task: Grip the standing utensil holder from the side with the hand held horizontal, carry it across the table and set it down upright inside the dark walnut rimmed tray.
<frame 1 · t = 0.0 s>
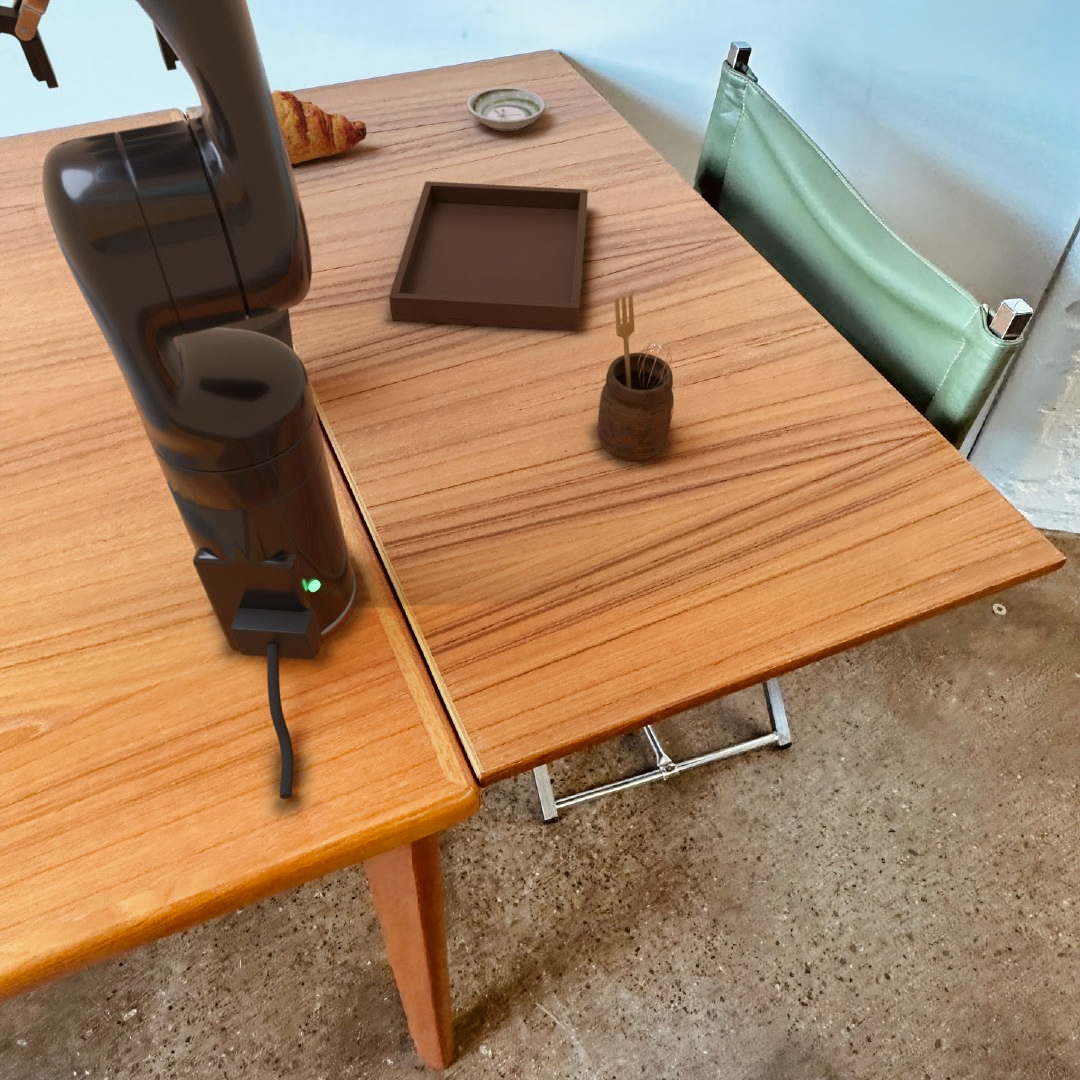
hand: (112, 73, 69), 22 cm above the table, tool pointing down, fingers open, 8 cm apart
croissant: (279, 152, 108), on the table
beverage cup: (272, 401, 79), on the table
tray: (496, 262, 93), on the table
saucer: (506, 124, 113), on the table
utensil holder: (631, 439, 76), on the table
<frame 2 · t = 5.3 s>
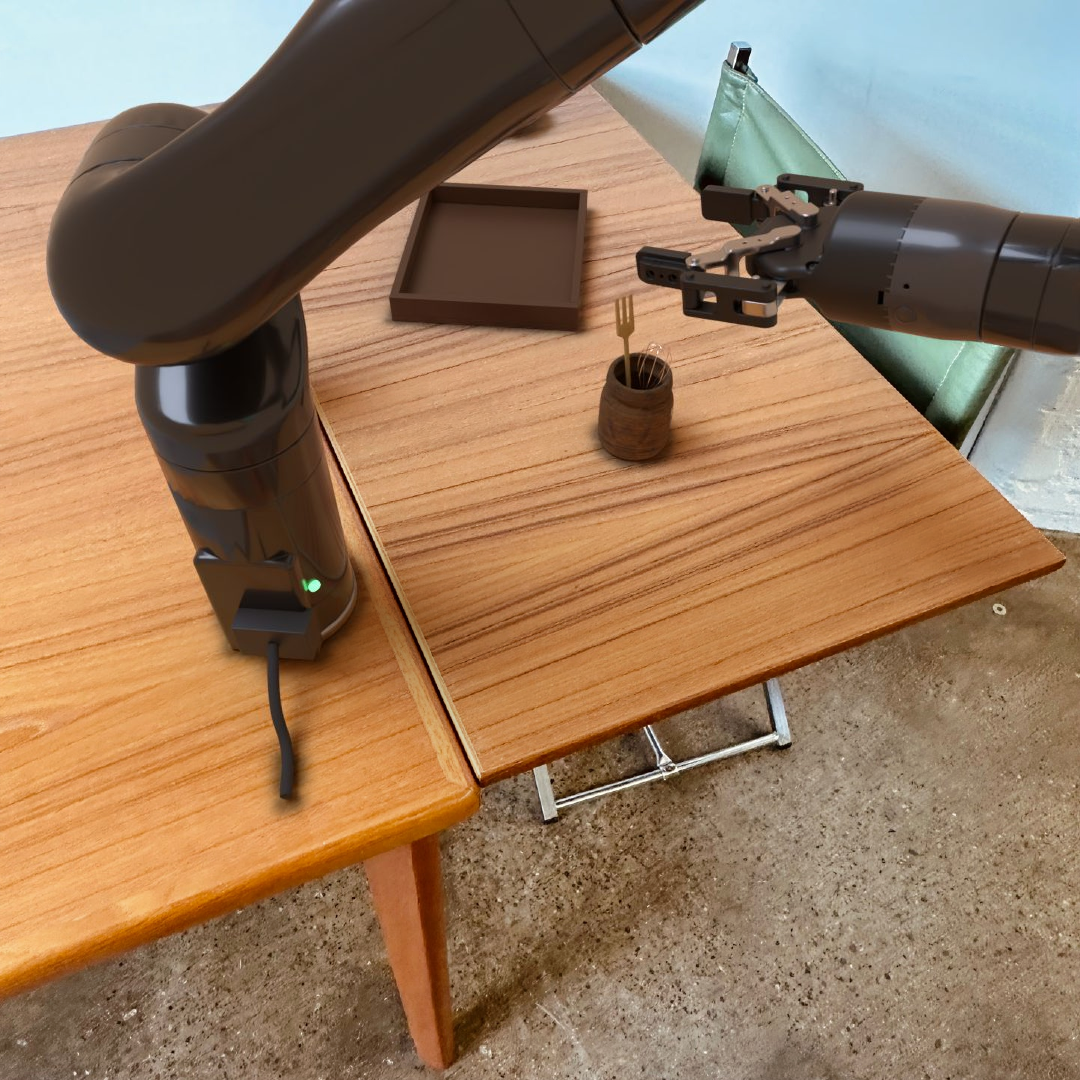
hand: (672, 231, 61), 19 cm above the table, tool horizontal, fingers open, 8 cm apart
nothing on the table moved.
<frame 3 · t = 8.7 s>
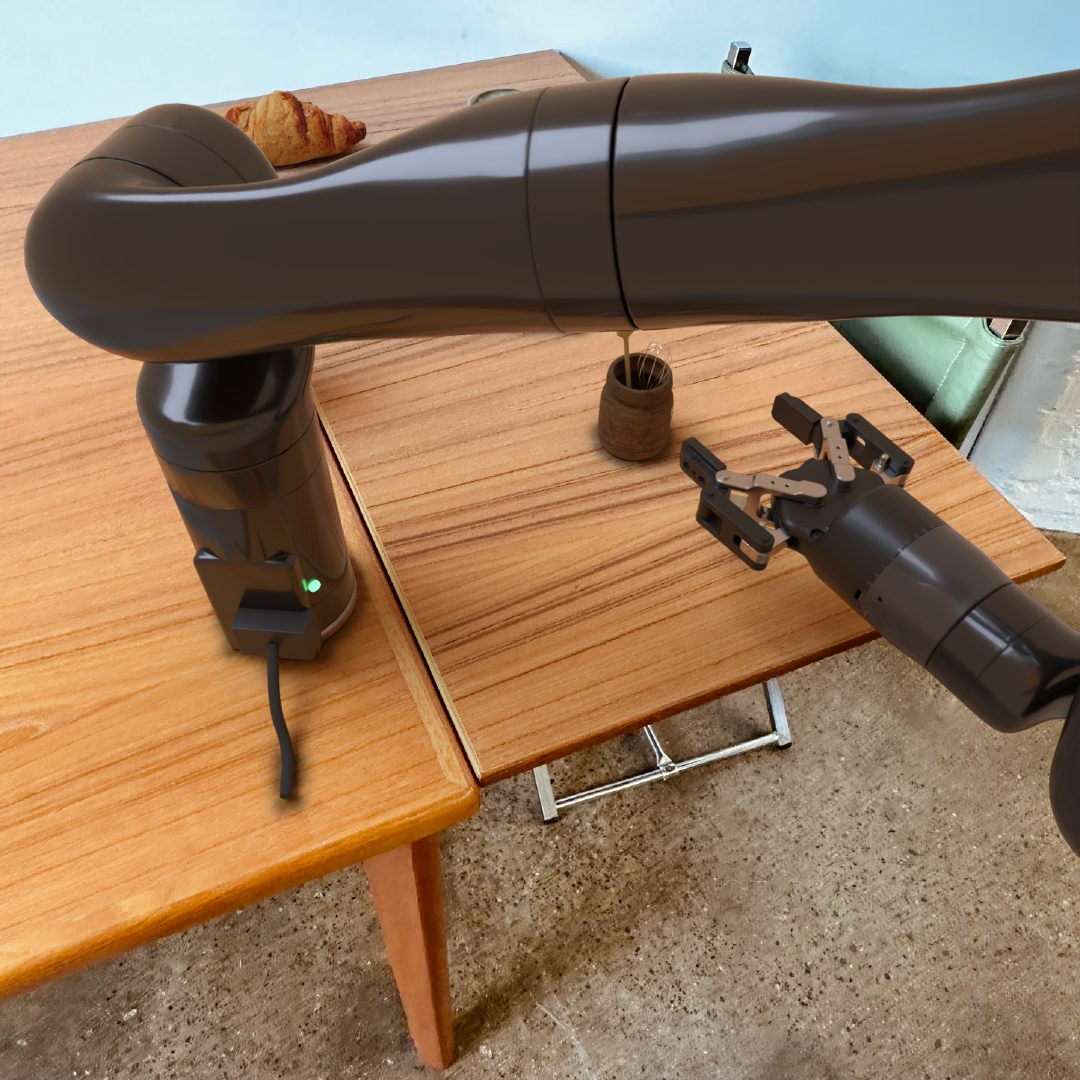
hand: (731, 424, 64), 9 cm above the table, tool horizontal, fingers open, 8 cm apart
nothing on the table moved.
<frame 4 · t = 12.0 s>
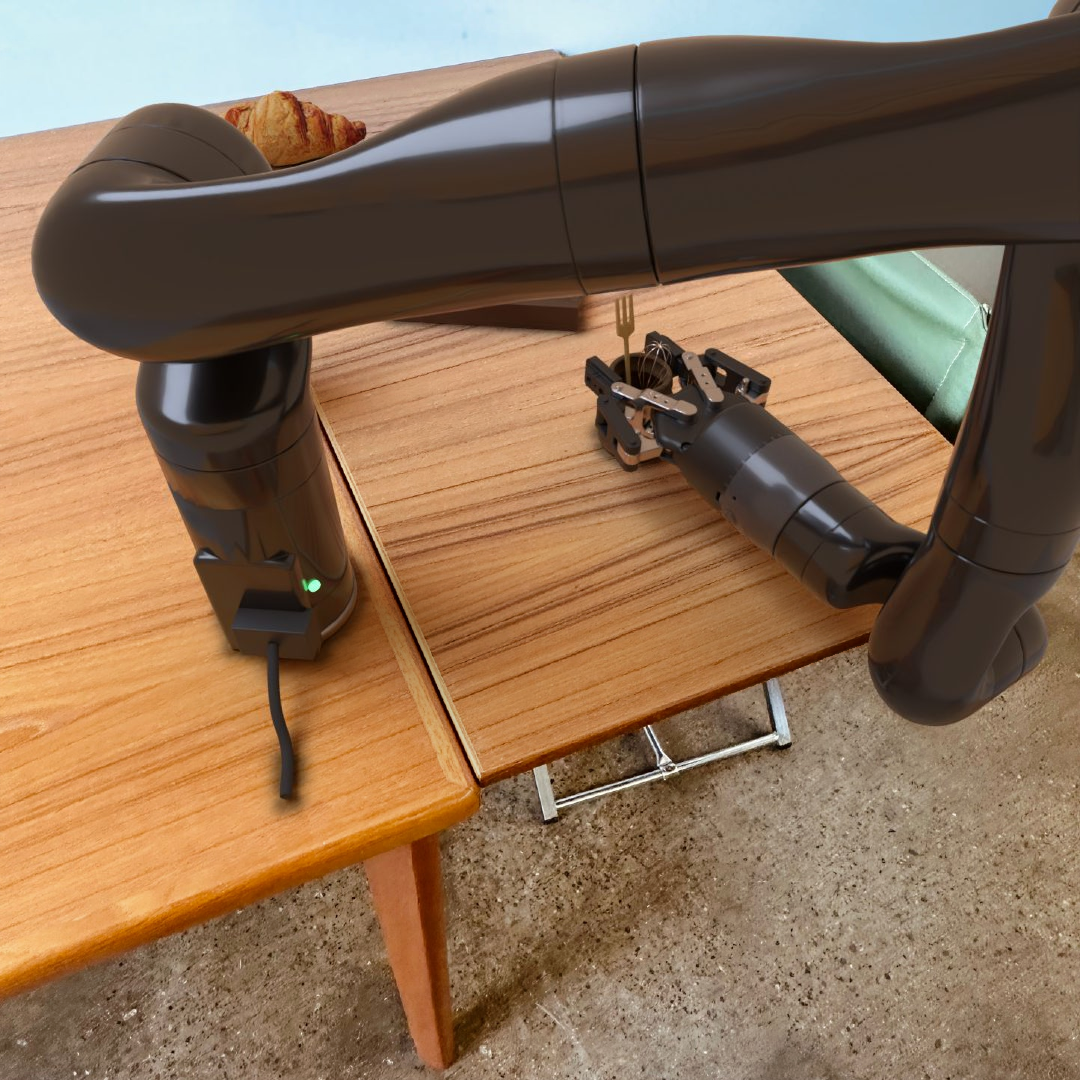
hand: (619, 354, 72), 7 cm above the table, tool horizontal, fingers closed on utensil holder, 5 cm apart
utensil holder: (631, 439, 76), on the table, touching gripper
everything else where it was.
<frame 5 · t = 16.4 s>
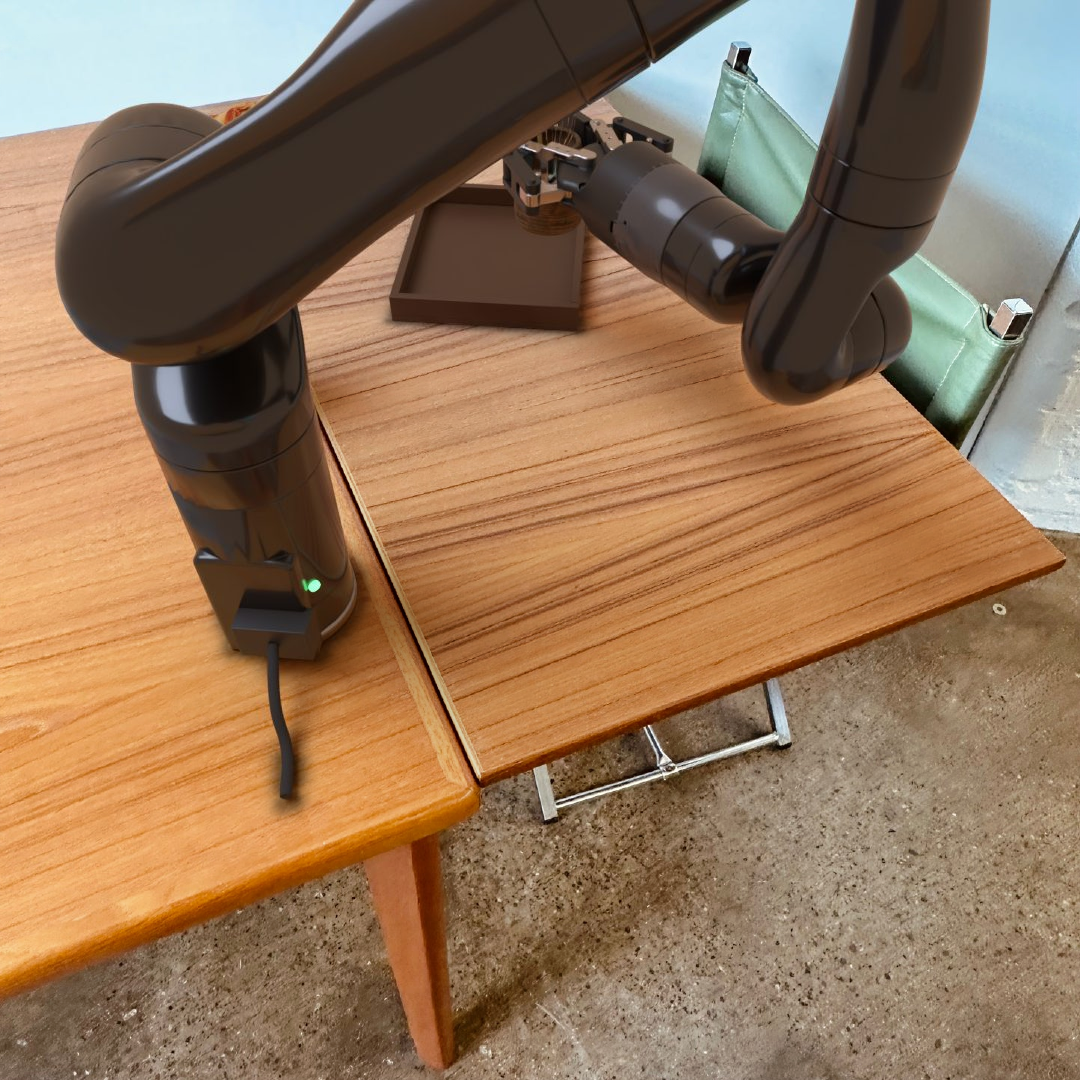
hand: (531, 126, 74), 18 cm above the table, tool horizontal, fingers closed on utensil holder, 5 cm apart
utensil holder: (547, 221, 78), point 11 cm above the table, touching gripper
everything else where it was.
when the fingers open (8 cm above the table, at t = 21.1 s): utensil holder stays where it is, resting on tray.
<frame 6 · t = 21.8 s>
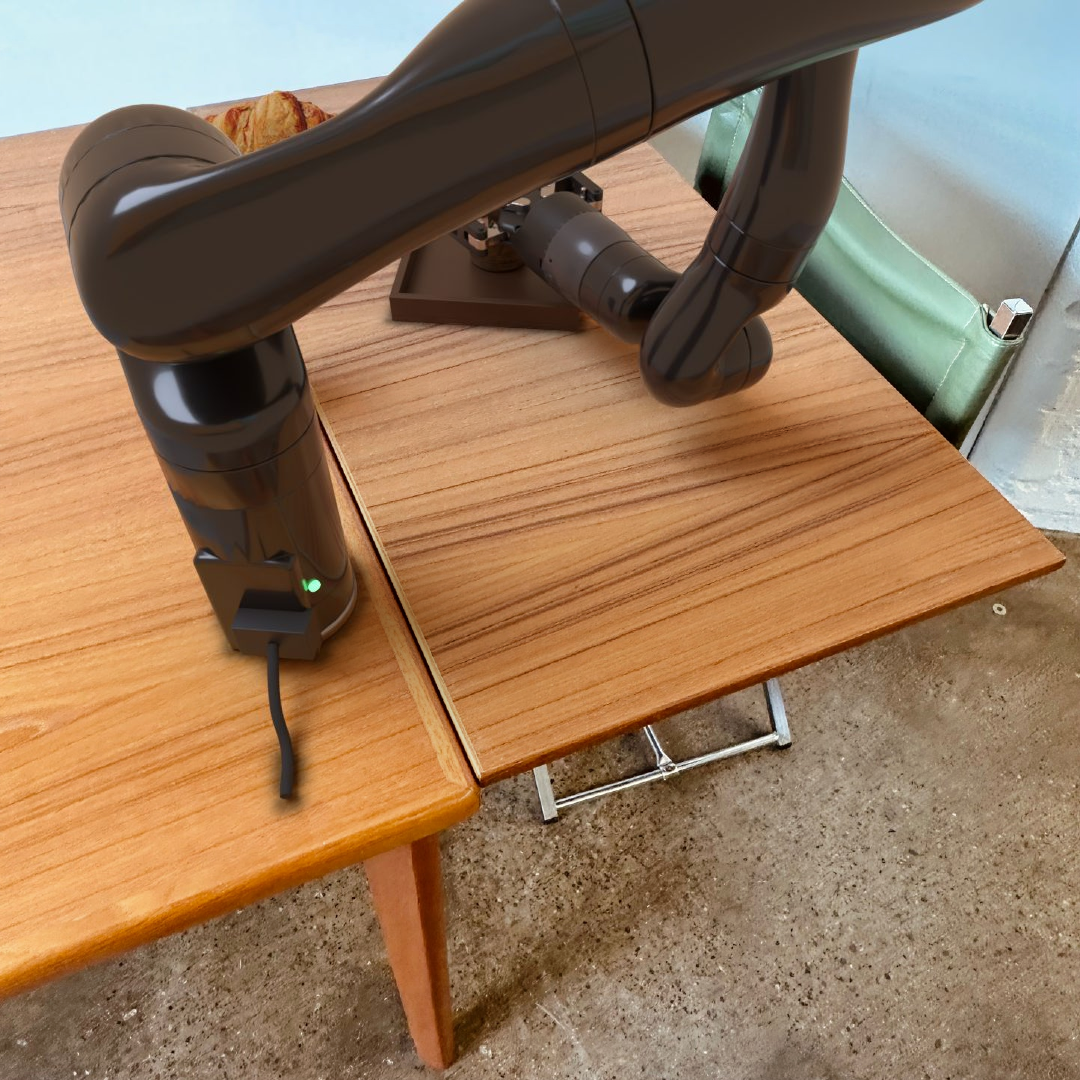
hand: (483, 176, 88), 8 cm above the table, tool horizontal, fingers open, 8 cm apart
utensil holder: (497, 258, 93), resting on tray
everything else where it was.
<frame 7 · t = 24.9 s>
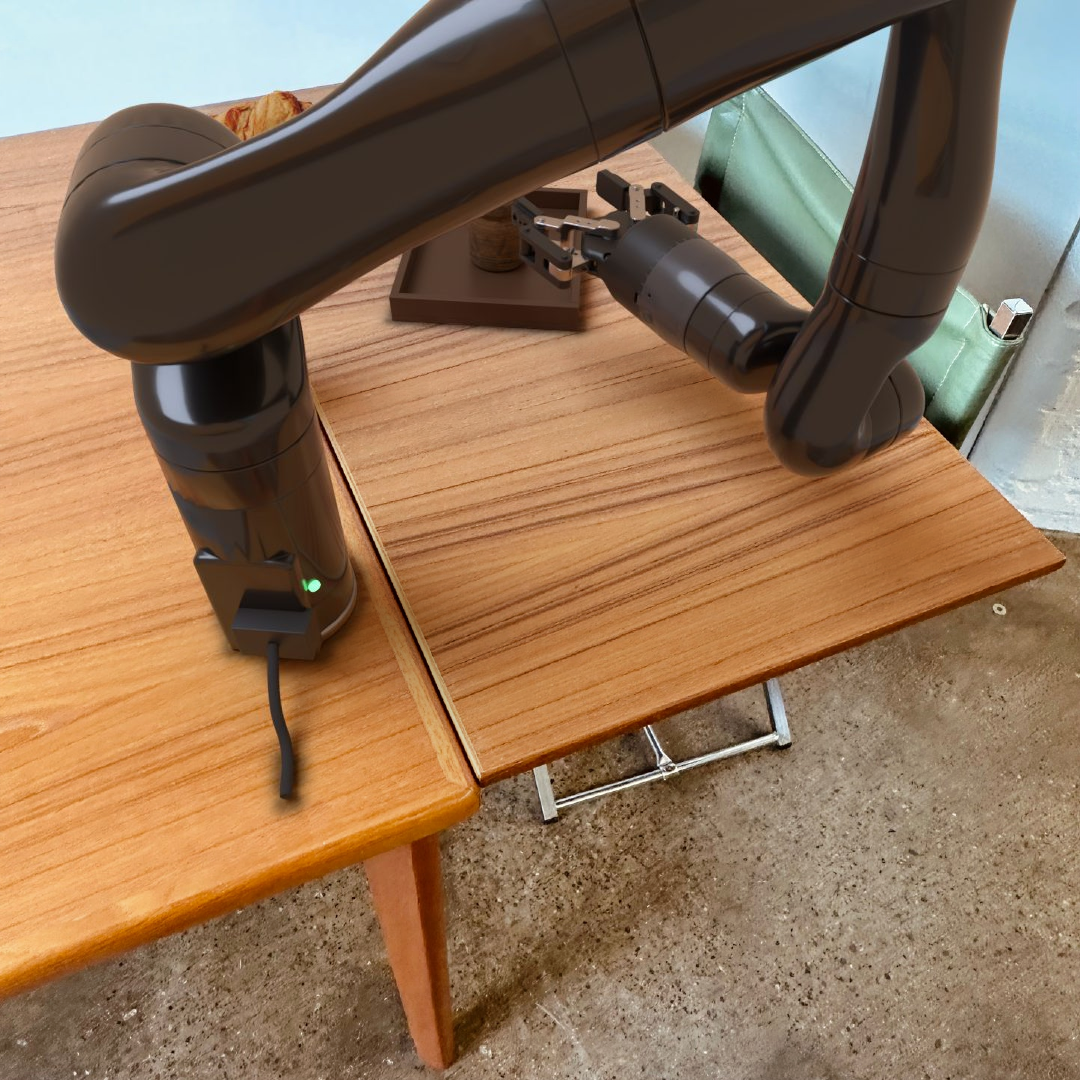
hand: (558, 193, 77), 13 cm above the table, tool horizontal, fingers open, 8 cm apart
nothing on the table moved.
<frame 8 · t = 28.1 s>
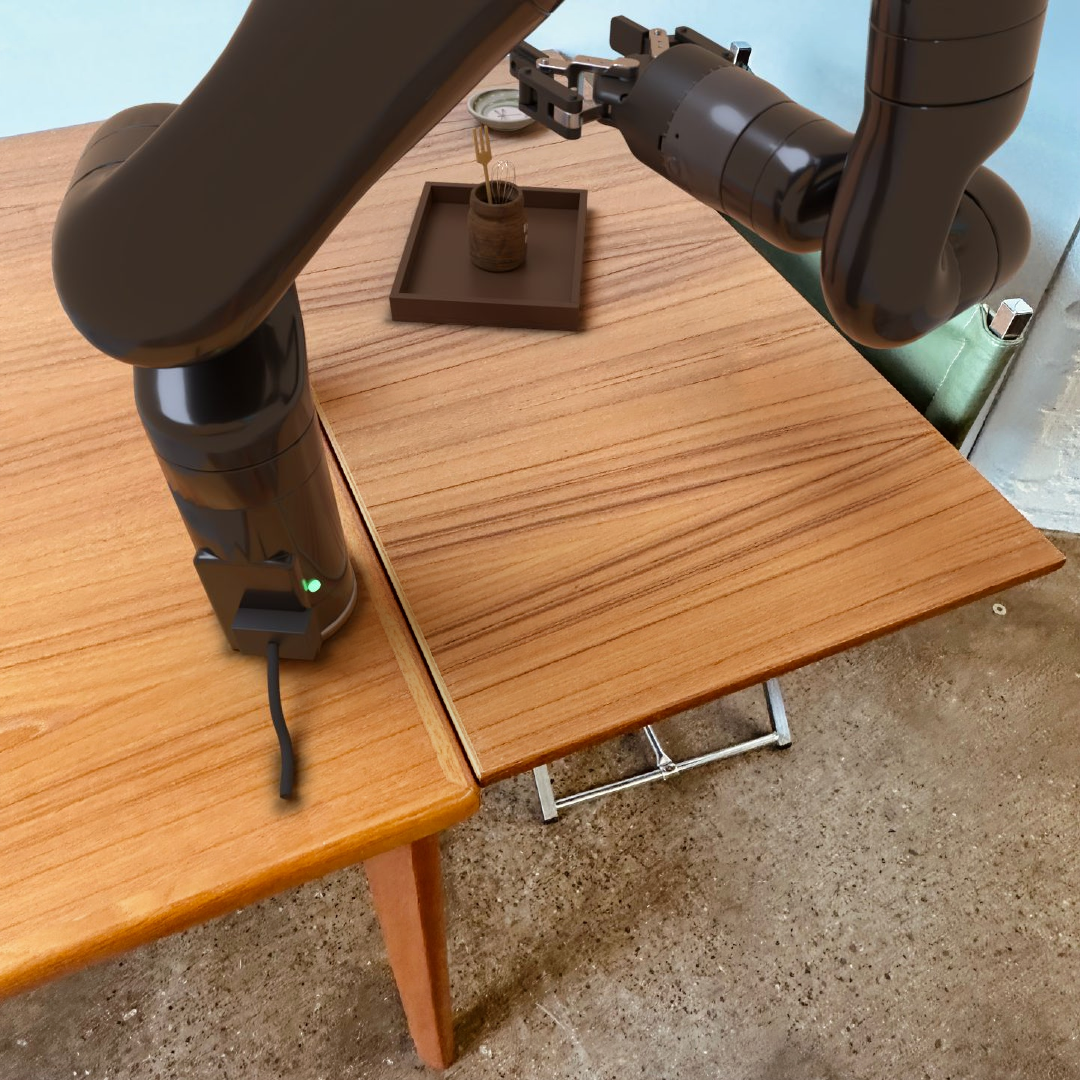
hand: (565, 42, 65), 26 cm above the table, tool horizontal, fingers open, 8 cm apart
nothing on the table moved.
at the end: utensil holder inside the target area in the tray (0.2 cm from its centre), point 0.4 cm above the tray's base; utensil holder tilted 0°; the gripper is holding nothing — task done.
